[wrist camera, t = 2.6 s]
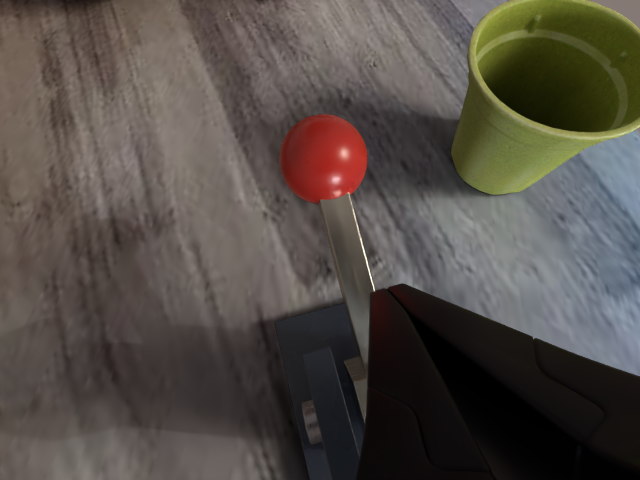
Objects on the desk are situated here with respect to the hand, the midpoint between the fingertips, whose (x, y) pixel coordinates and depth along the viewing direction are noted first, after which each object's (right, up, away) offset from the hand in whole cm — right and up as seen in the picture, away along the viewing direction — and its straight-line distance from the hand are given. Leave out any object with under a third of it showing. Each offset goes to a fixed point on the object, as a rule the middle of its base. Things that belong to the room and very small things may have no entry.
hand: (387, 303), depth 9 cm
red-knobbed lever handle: (-1, 0, +6) cm, 6 cm away
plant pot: (+11, +7, +17) cm, 22 cm away
